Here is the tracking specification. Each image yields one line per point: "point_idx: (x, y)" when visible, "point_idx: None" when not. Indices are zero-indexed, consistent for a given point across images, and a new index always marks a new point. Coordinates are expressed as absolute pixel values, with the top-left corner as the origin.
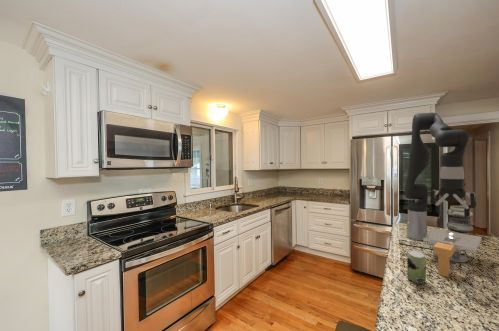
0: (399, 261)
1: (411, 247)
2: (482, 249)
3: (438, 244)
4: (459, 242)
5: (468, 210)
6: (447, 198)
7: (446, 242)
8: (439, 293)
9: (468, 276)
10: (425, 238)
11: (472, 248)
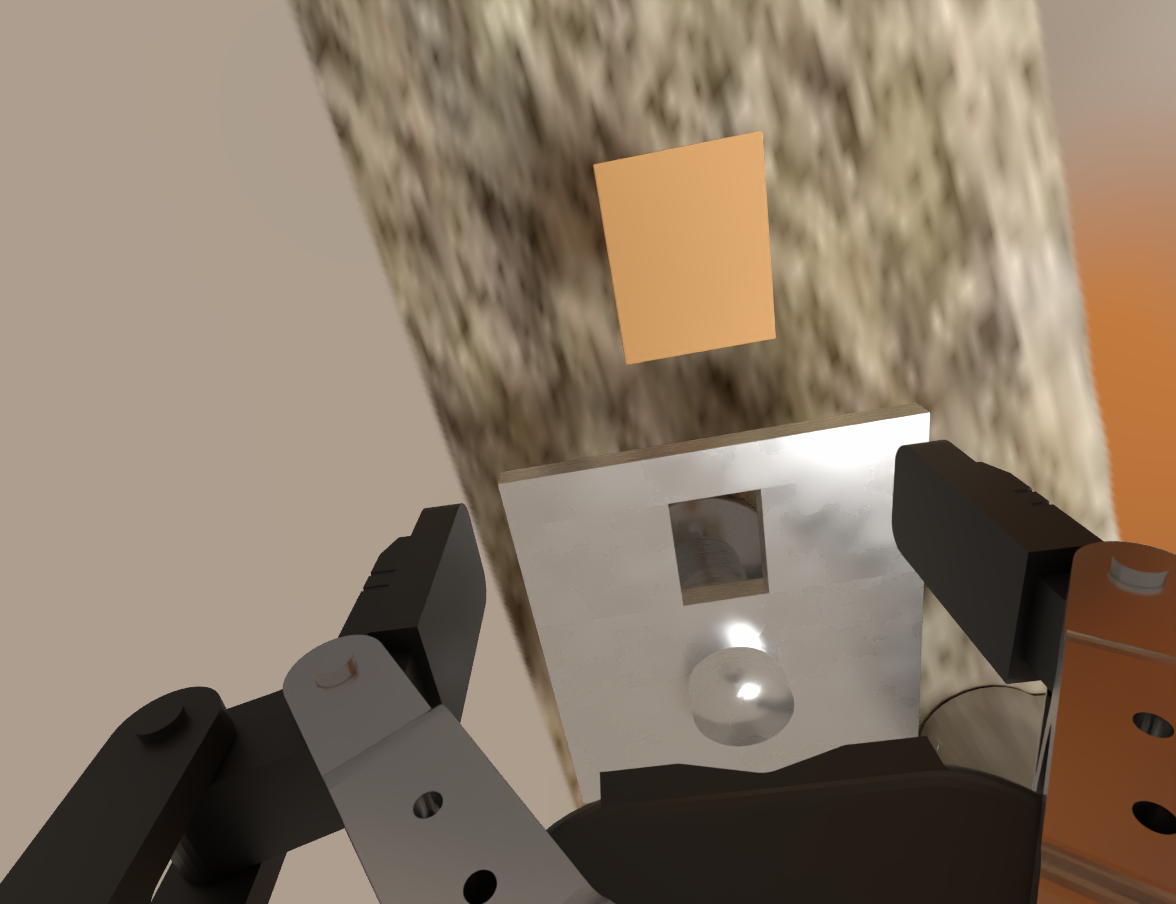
0: (977, 152)
1: None
2: None
3: (742, 261)
4: (645, 552)
5: (353, 632)
6: (965, 858)
7: (722, 461)
8: None
9: (540, 329)
10: (906, 422)
11: (522, 480)
